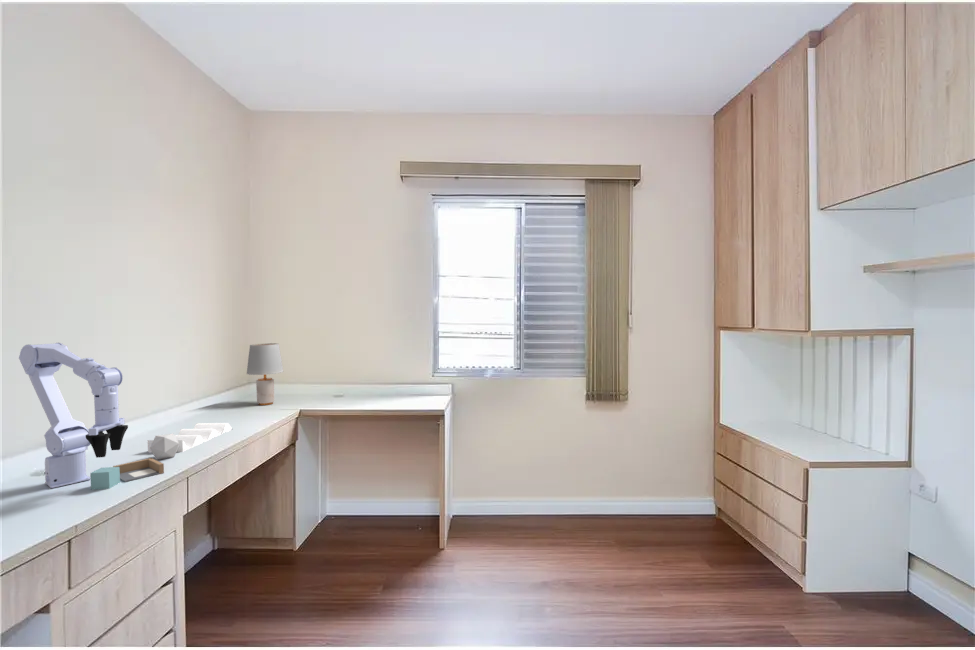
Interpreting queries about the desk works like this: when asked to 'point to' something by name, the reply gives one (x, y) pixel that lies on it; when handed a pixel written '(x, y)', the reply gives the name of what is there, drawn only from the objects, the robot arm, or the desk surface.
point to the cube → (105, 478)
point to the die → (164, 446)
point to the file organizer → (198, 435)
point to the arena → (140, 469)
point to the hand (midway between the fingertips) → (108, 453)
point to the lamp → (264, 369)
